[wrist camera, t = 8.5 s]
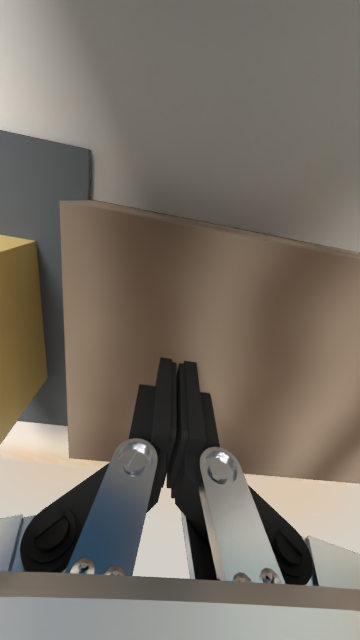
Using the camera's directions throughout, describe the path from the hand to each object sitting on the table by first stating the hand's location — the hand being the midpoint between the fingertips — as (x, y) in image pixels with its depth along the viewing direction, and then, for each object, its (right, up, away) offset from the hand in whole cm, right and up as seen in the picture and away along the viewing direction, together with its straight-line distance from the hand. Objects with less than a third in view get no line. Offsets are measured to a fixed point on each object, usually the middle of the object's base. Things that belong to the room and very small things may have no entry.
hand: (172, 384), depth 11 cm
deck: (+5, +1, +5) cm, 7 cm away
